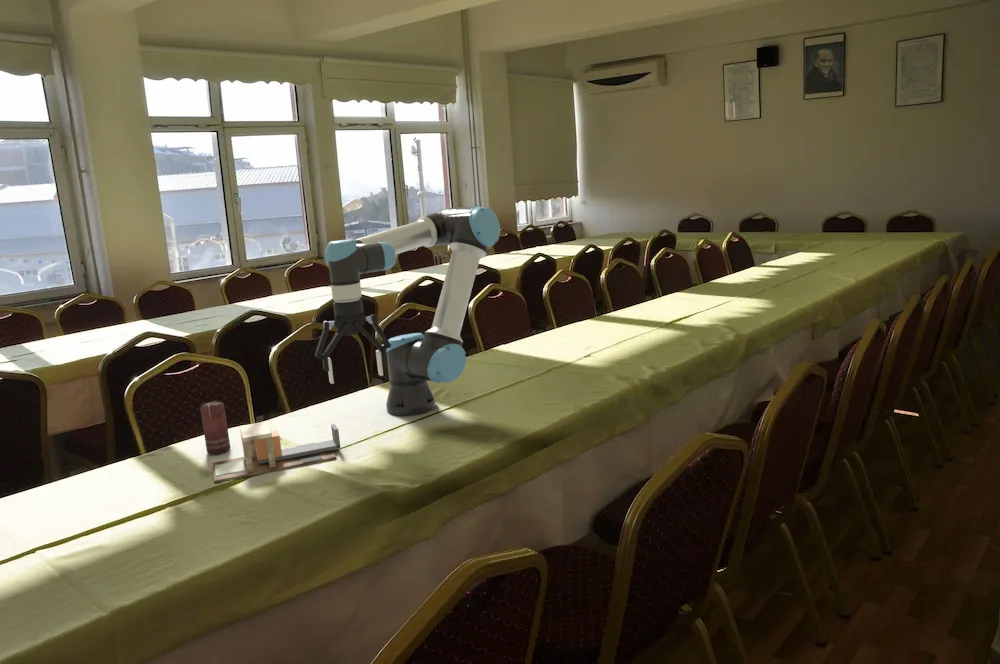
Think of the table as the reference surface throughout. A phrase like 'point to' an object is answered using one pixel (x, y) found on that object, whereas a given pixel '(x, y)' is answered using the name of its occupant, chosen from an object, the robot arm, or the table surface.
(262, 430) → the tunnel board
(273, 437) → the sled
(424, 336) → the robot arm
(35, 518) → the table surface
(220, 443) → the can
